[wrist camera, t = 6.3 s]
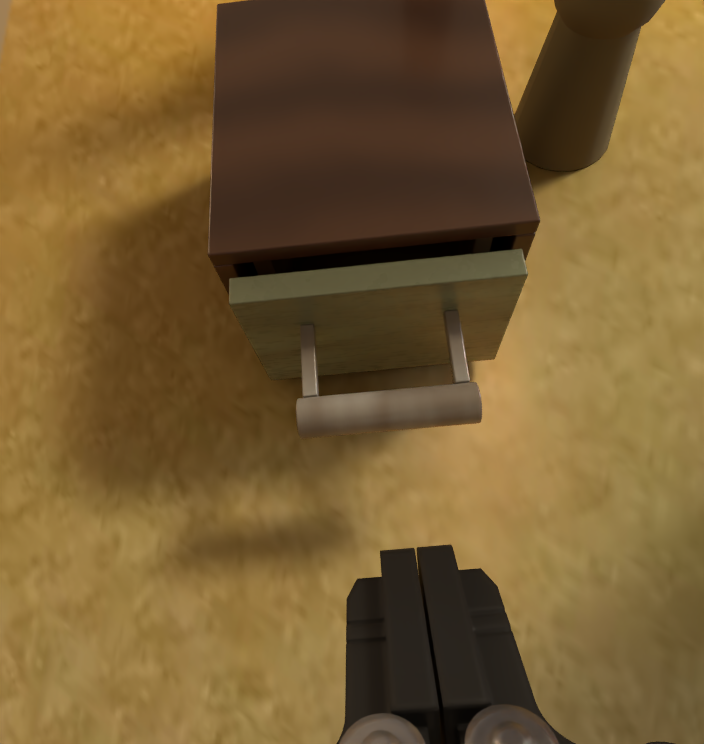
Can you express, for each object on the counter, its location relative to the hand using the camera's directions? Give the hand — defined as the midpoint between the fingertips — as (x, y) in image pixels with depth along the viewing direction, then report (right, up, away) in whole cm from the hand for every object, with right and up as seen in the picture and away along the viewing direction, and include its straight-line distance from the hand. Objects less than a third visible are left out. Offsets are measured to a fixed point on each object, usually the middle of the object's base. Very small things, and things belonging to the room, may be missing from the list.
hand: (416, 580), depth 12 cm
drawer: (0, +8, +18) cm, 20 cm away
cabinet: (0, +12, +21) cm, 24 cm away
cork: (+11, +19, +23) cm, 32 cm away
